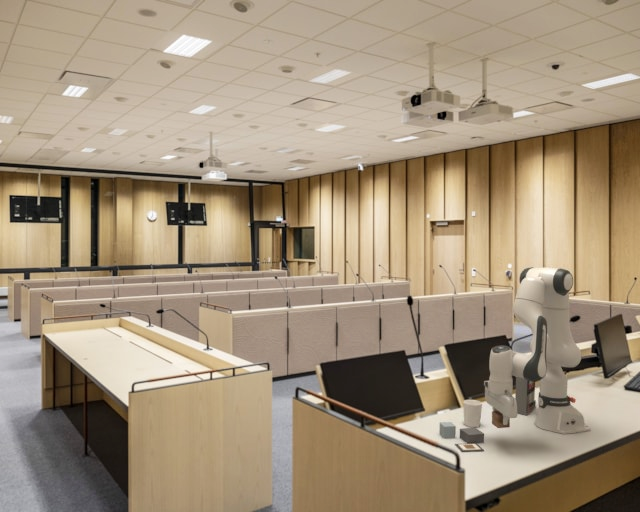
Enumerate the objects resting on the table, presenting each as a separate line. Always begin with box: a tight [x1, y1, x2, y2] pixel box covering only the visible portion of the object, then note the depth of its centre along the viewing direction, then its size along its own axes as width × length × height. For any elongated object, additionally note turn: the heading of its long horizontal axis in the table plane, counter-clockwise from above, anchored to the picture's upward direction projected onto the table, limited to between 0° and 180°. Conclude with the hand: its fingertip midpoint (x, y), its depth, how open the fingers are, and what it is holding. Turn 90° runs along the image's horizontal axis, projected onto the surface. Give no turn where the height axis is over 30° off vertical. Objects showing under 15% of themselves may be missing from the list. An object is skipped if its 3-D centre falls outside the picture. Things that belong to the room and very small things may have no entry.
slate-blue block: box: [439, 421, 457, 439], centre depth 218 cm, size 5×5×5 cm
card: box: [454, 443, 485, 453], centre depth 206 cm, size 9×7×1 cm
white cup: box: [462, 399, 483, 428], centre depth 232 cm, size 8×8×10 cm
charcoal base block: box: [459, 427, 485, 444], centre depth 214 cm, size 7×7×4 cm
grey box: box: [514, 376, 537, 416], centre depth 252 cm, size 14×6×25 cm, turn 143°
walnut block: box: [491, 410, 511, 429], centre depth 210 cm, size 5×5×5 cm
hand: (500, 421), depth 210 cm, fingers closed on walnut block, 5 cm apart
